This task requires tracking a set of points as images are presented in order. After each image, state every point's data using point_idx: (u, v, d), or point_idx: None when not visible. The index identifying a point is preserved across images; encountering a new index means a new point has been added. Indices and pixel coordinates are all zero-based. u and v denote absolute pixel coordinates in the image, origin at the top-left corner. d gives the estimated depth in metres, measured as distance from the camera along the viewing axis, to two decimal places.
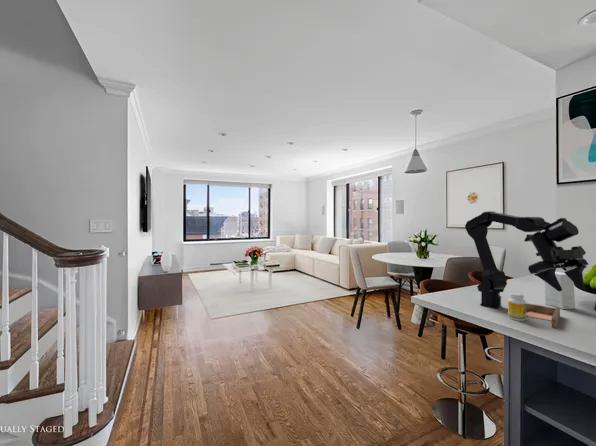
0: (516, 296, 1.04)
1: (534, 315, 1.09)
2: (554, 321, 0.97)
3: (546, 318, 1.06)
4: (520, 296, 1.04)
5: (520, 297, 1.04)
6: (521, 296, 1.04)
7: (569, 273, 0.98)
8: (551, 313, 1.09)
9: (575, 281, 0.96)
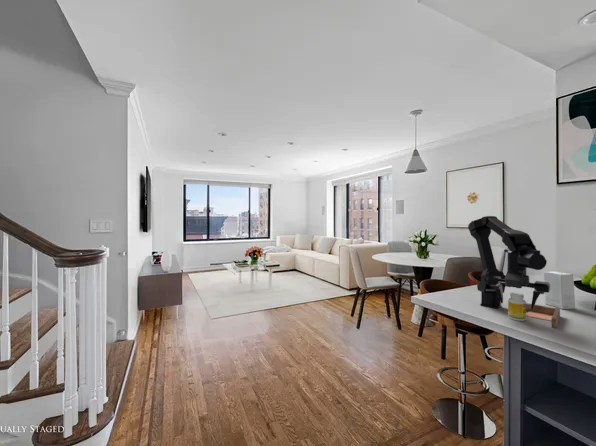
0: (516, 296, 1.04)
1: (534, 315, 1.09)
2: (554, 321, 0.97)
3: (546, 318, 1.06)
4: (520, 296, 1.04)
5: (520, 297, 1.04)
6: (521, 296, 1.04)
7: None
8: (551, 313, 1.09)
9: None
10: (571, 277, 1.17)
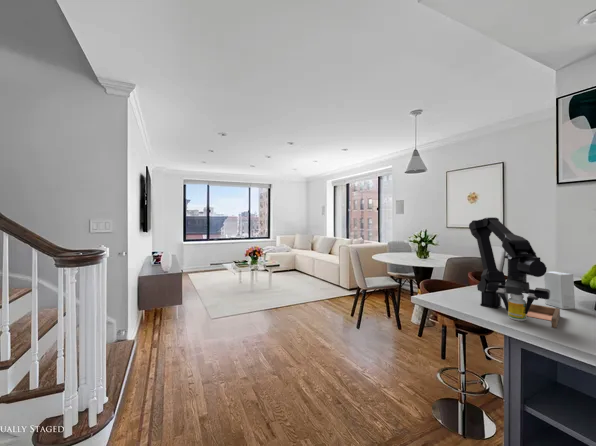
0: (516, 296, 1.04)
1: (534, 315, 1.09)
2: (554, 321, 0.97)
3: (546, 318, 1.06)
4: (520, 296, 1.04)
5: (520, 297, 1.04)
6: (521, 296, 1.04)
7: None
8: (551, 313, 1.09)
9: None
10: (571, 277, 1.17)
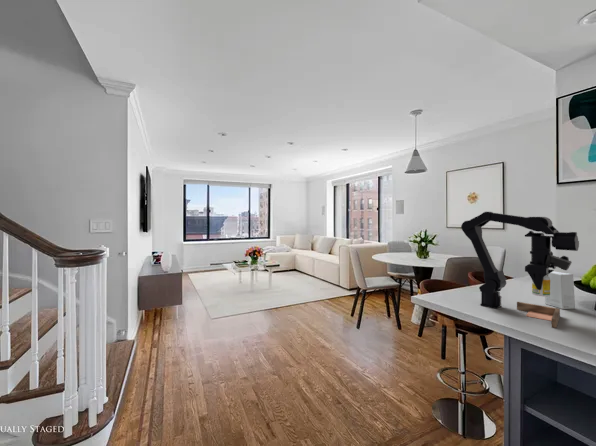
0: None
1: (534, 315, 1.09)
2: (554, 321, 0.97)
3: (546, 318, 1.06)
4: None
5: None
6: None
7: None
8: (551, 313, 1.09)
9: None
10: (571, 277, 1.17)
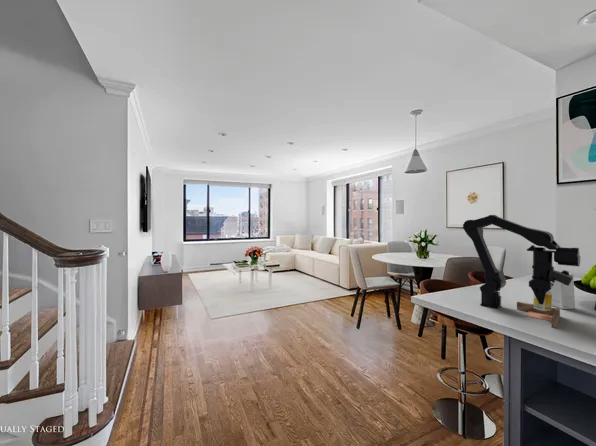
0: None
1: (534, 315, 1.09)
2: (554, 321, 0.97)
3: (546, 318, 1.06)
4: None
5: None
6: None
7: None
8: (551, 313, 1.09)
9: None
10: None
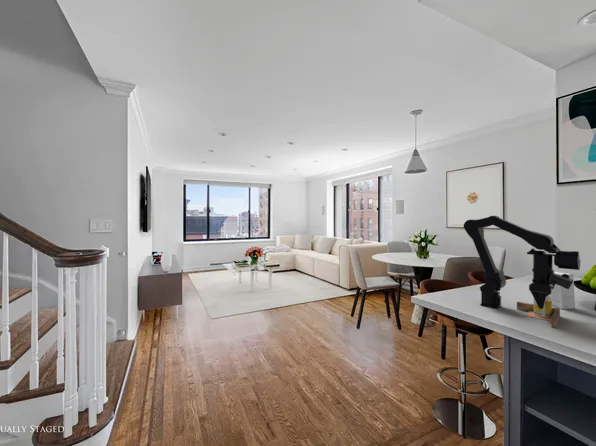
0: None
1: (534, 315, 1.09)
2: (554, 321, 0.97)
3: (546, 318, 1.06)
4: None
5: None
6: None
7: None
8: None
9: None
10: (571, 277, 1.17)
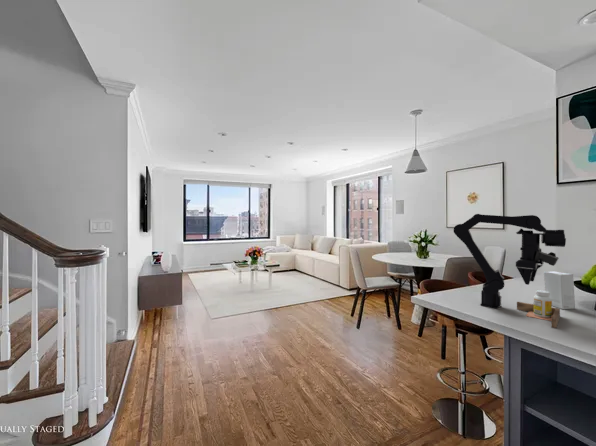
0: (549, 293, 1.07)
1: (534, 315, 1.09)
2: (554, 321, 0.97)
3: (546, 318, 1.06)
4: None
5: None
6: None
7: None
8: None
9: None
10: (571, 277, 1.17)
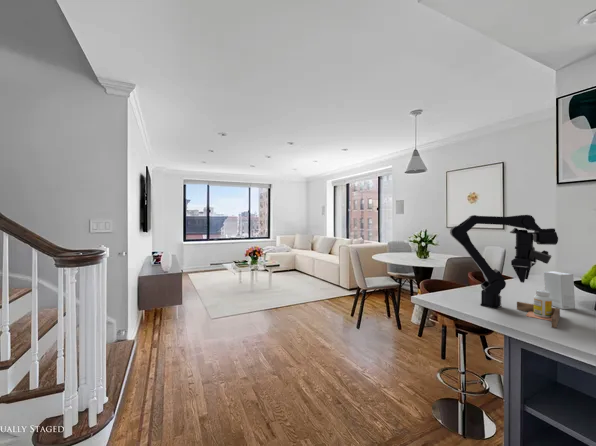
0: (549, 293, 1.07)
1: (534, 315, 1.09)
2: (554, 321, 0.97)
3: (546, 318, 1.06)
4: None
5: None
6: None
7: None
8: None
9: None
10: (571, 277, 1.17)
